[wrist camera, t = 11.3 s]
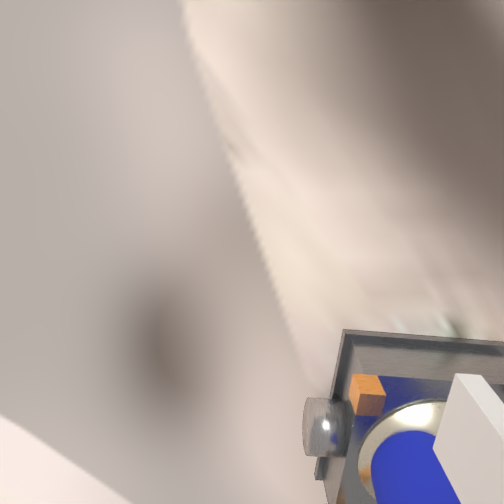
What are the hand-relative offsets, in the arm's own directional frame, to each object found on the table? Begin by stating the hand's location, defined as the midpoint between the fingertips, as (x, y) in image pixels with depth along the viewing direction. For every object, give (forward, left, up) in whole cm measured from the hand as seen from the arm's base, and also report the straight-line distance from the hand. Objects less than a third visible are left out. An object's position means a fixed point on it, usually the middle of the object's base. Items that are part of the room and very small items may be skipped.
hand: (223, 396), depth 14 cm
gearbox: (+21, +19, -27) cm, 39 cm away
